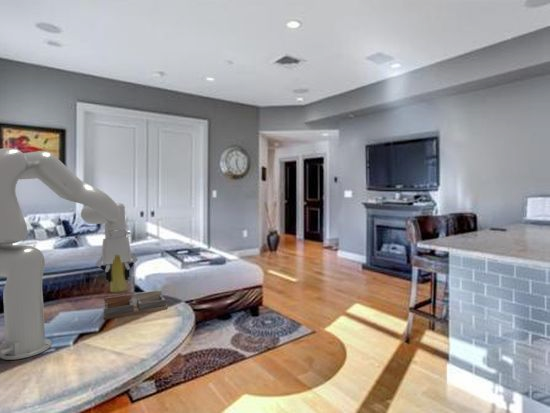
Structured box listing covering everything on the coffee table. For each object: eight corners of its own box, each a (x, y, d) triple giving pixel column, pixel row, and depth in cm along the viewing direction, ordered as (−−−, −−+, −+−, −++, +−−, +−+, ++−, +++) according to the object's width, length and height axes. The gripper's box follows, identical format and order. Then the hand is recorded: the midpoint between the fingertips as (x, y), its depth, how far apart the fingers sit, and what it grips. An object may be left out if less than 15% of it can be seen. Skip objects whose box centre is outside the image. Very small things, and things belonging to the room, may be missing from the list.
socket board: (167, 309, 141) (166, 295, 141) (103, 319, 131) (103, 305, 131) (162, 301, 152) (162, 289, 152) (103, 311, 141) (102, 297, 141)
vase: (115, 288, 142) (113, 253, 141) (130, 287, 141) (128, 252, 141) (106, 292, 136) (105, 255, 135) (122, 292, 135) (120, 255, 135)
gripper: (138, 232, 145) (140, 275, 146) (91, 235, 137) (93, 281, 138) (140, 233, 138) (142, 279, 139) (90, 237, 131) (93, 285, 131)
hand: (118, 280), depth 138 cm, fingers closed on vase, 5 cm apart
